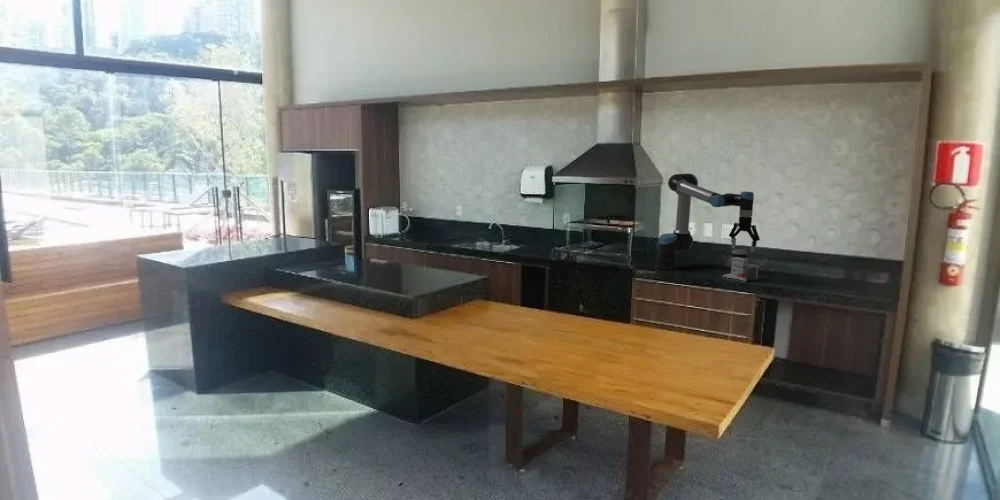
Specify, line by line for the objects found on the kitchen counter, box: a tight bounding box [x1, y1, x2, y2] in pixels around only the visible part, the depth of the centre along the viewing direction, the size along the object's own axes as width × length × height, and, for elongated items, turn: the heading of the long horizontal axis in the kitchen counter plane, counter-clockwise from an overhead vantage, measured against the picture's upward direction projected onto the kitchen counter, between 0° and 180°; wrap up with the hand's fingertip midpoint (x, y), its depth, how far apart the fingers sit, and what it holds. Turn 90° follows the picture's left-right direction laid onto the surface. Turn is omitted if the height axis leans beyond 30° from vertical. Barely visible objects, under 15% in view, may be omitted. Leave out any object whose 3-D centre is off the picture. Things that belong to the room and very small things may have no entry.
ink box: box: [730, 256, 749, 278], centre depth 371 cm, size 8×5×12 cm, turn 37°
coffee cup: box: [731, 248, 748, 259], centre depth 388 cm, size 10×10×15 cm
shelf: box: [722, 263, 759, 282], centre depth 371 cm, size 16×13×9 cm
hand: (743, 249), depth 367 cm, fingers open, 13 cm apart
